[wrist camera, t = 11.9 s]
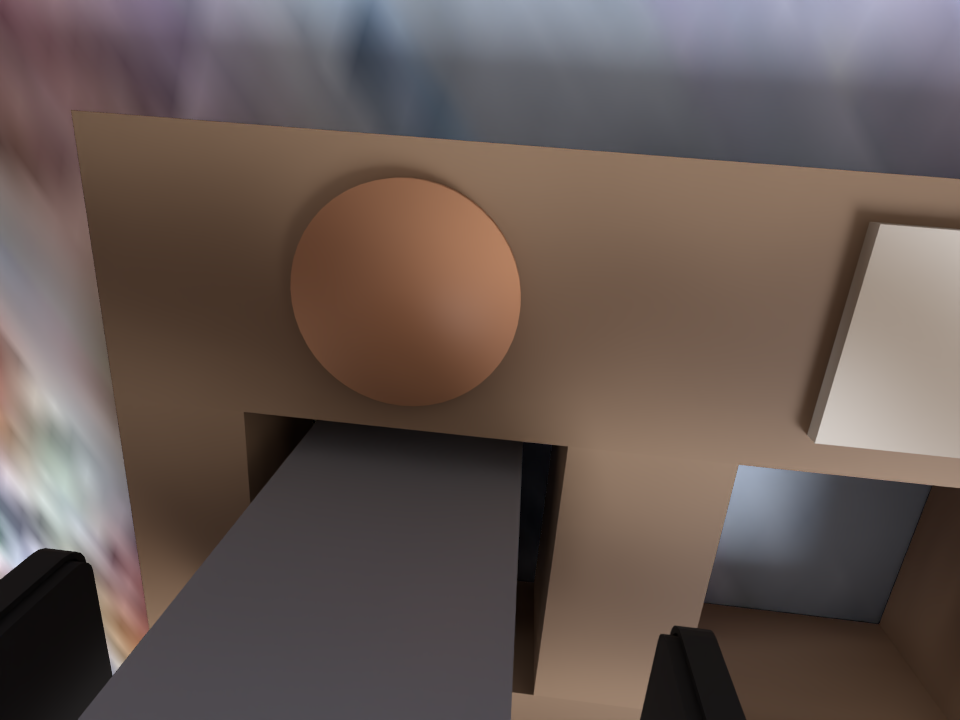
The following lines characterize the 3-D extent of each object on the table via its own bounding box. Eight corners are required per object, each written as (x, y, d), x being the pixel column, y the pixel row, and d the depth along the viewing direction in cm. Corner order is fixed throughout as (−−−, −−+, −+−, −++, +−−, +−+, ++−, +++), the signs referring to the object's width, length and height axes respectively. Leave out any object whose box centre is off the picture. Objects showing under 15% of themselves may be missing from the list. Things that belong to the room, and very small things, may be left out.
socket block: (191, 120, 13) (56, 108, 9) (1182, 196, 12) (1471, 218, 8) (239, 681, 18) (167, 811, 15) (916, 771, 17) (1017, 936, 13)
